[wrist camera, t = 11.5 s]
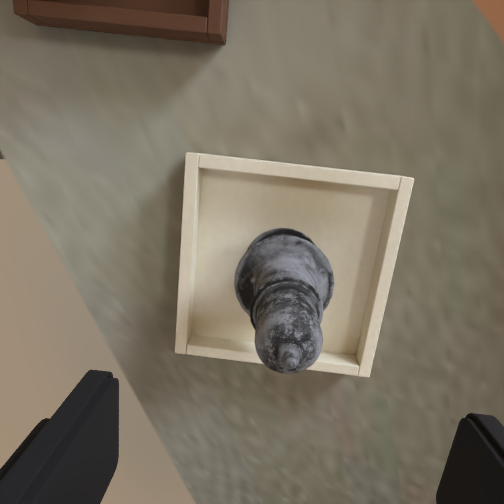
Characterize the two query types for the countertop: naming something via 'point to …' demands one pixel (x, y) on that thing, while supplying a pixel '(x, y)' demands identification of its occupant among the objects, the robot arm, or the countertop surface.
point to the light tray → (300, 219)
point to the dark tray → (133, 17)
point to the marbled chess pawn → (285, 297)
